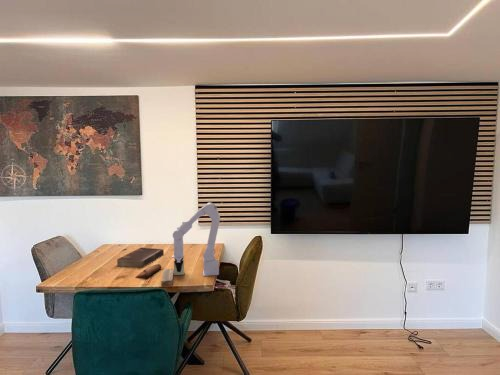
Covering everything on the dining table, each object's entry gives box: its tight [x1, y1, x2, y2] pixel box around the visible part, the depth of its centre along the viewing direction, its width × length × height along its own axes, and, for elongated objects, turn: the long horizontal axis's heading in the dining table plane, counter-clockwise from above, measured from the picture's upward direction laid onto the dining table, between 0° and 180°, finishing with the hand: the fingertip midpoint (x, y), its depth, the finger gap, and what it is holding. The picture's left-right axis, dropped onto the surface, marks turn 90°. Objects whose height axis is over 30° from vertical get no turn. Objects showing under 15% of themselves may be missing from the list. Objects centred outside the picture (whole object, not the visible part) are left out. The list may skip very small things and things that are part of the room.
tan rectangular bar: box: [160, 268, 174, 287], centre depth 181 cm, size 6×20×3 cm, turn 12°
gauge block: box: [173, 259, 185, 276], centre depth 189 cm, size 6×5×7 cm
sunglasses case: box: [134, 263, 162, 280], centre depth 190 cm, size 18×7×7 cm, turn 169°
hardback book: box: [116, 247, 165, 269], centre depth 217 cm, size 29×19×5 cm, turn 169°
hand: (179, 270), depth 189 cm, fingers closed on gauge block, 5 cm apart
